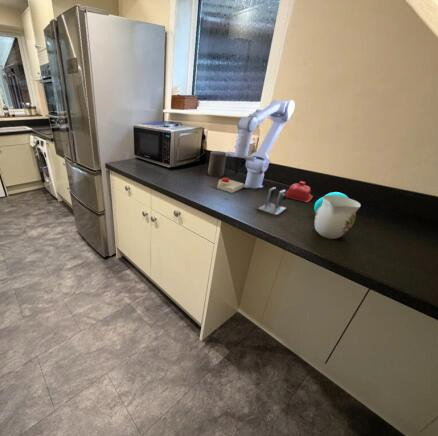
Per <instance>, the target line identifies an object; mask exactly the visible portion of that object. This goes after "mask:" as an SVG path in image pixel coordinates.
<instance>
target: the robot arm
mask: <svg viewBox="0 0 438 436" xmlns="http://www.w3.org/2000/svg"><path fill="white" fill-rule="evenodd" d="M294 111H295V101H294V100H293V99H292V100H279V99H278V100H277V99H273V100H271V101H270V102H269V104H268V105H267V106H266V107H264V108H263V109H259V108H258V109H256V110H255V111H254V112H253V113H249V114H248V116H242V117H241V118H240V119H239V120H238V121H237V124H236V129H237V140H236V145H235V150H234V151H225V152H226V157H230V158H231V157H232V163H233V167H234V174H236V175H237V174H238V175H239V174H240V172H241V171H242V169H243V167H244V165H245V168H246V171H247V172H246V173H247V174H246V179H245V183H244V189H248V188H249V189H259V188H261V189H262V188H264V185H263V181H264V177H265V172H266V171H267V170H268V169H269V164H270V162H271V158H270V157H269V153H270V152H271V150H272V148H273V146H274V144H275V142H276V141H277V139H278V137H279V135H280V134H281V131H282V130H283V128H284V126H285V125H286V123H287V122H289V120H290V118H291V116H292V114H293V113H294ZM267 117H269V118H270V120H271V121H272V124H271V126H270V128H269V129H268V131H267V133H266V135H265V137H264V139H263V141H261V144H260V146H259V148H258V150H257V151H255V152H253V153H251V154H248V153H249V149H250V145H251V144H250V143H251V139H252V134H253V132H254V131H255V130H256V128H257V127H258V126H259V125H260V124H261V123H263V122H265V120H266V118H267Z"/></svg>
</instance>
